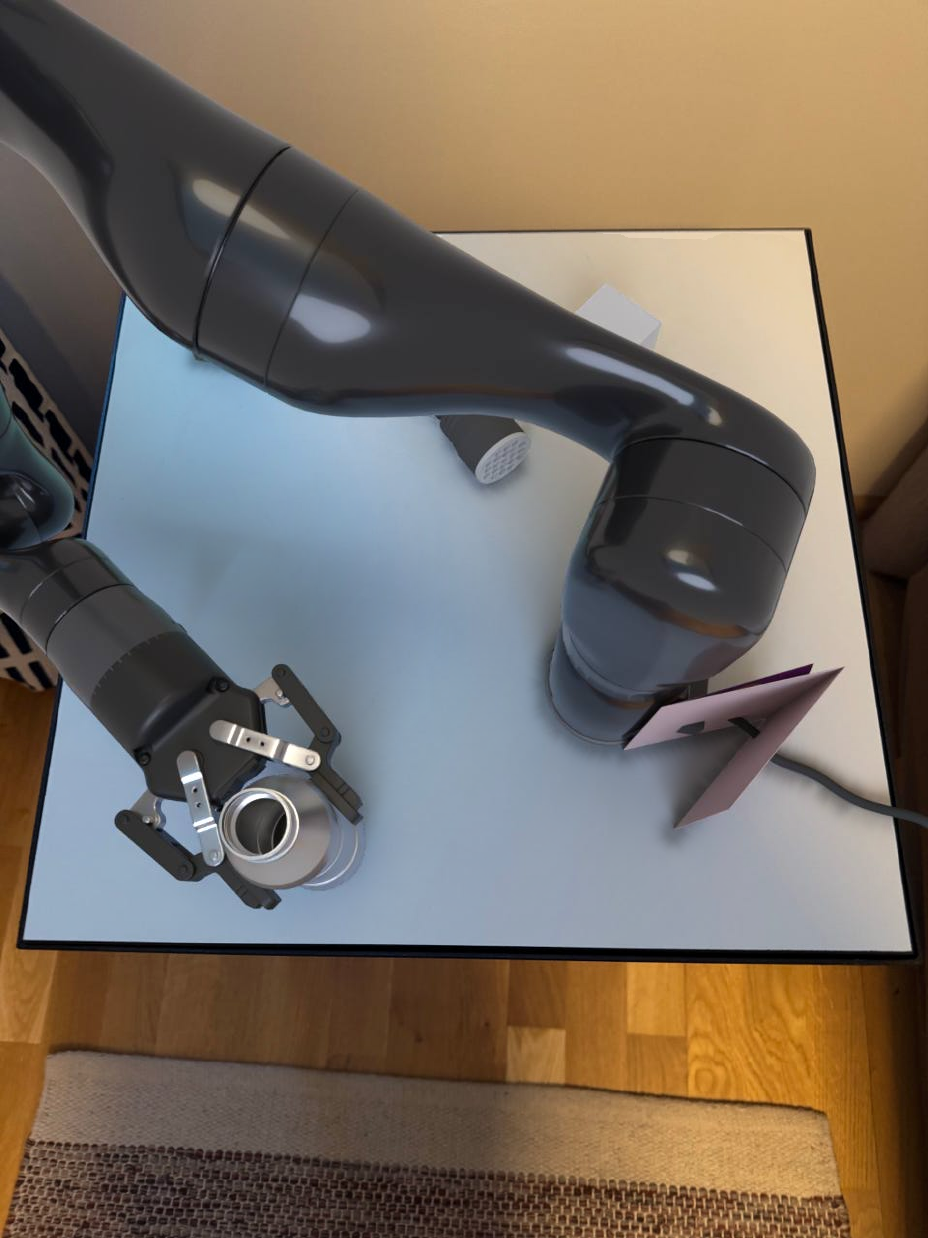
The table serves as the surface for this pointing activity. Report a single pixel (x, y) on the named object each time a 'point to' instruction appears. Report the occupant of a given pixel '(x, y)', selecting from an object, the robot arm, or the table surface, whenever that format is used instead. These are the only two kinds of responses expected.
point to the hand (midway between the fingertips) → (316, 861)
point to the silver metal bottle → (290, 836)
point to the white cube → (621, 316)
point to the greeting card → (763, 698)
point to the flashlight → (486, 443)
